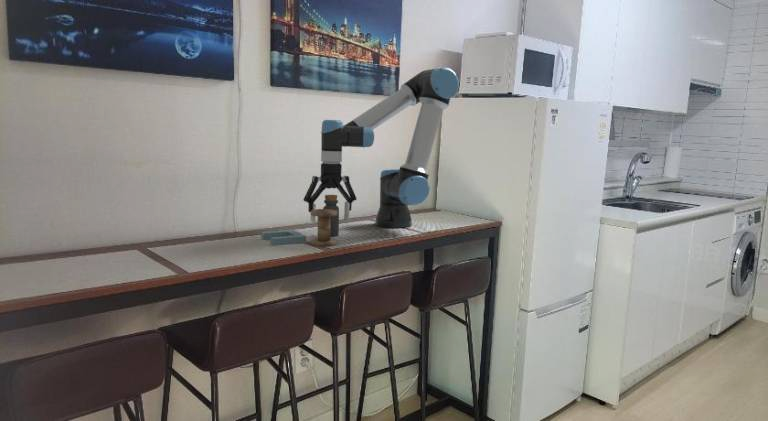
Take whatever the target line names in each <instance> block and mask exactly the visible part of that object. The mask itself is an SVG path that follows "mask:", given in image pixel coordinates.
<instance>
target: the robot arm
mask: <svg viewBox="0 0 768 421" xmlns="http://www.w3.org/2000/svg"><path fill="white" fill-rule="evenodd" d="M459 88H460V81H459V78H458V76H457V74H456V72H455V71H454V70H452V69H451V68H449V67H442V66H440V67H436V68H431V69H426V70H425V69H424V70H422V71H420V72H419V73H418V74H416V75H414V76H413V77H411V78H410V79H408V80H407V81H406V82H405V83H403V84H401V86H400V89H398V90H396V91H395V92H393V93H392V94H391V95H389V96H387V97H386V98H384V99H383V100H382V101H381V100H380V101H379V102H378V103H377V104H375V105H374V106H371V107H370V108H369V109H368V110H366V111H364V112H363V113H361V114H359V116H357V117H355V118H353V119H352V120H351V121H349V122H347V123H346V124H344V123H343V120H340V119H339V120H337V119H324V120H323V121H322V123H321V132H320V133H321V142H320V144H321V145H320V146H321V148H320V149H321V150H320V152H321V153H320V155H321V156H320V161H321V164H320V176H317V175H312V178H311V182H310V184H309V187H308V189H307V191H306V193H305V195H304V197H303V202H305V203H308V206H307V207H308V212H309V214H310V222H313V223H315V222H316V216H313V215H311V210H315V209H317V208H316V207H317V206H316V200H317V199H319V197H320V196H321V194H322V193H323V191H325V190H326V189H337V190H338V192H339V193H340V194H341V195H342V196H343V198H344V199H345V201H344V210H343V212H344V213H343V215H344V217H343V219H344V220H346V221H349V220H350V211H352V203H353V202H354V201H357V199H358V198H357V196H356V194H355V191H354V188H353V187H352V184H351V183H350V182H351V181H350V176H348V175H343V176H342V161H343V159H342V158H343V148H344V147H352V148H371V147H372V146H373V144H374V142H375V132H374V129H377V128H378V127H379V126H380V125H383V124H384V123H385V122H387V121H388V120H390V119H391V118H393V117H394V116H396V115H397V114H399V113H400V112H402V111H404V110H405V109H407V108H408V107H410V106H416V105H418V103H421V106H420V109H419V112H418V116H417V119H416V124H415V127H414V131H413V134H412V139H411V142H410V145H409V149H408V152H407V156H406V160H405V162H404V163H403V164H402V165H400V166H399V169H397V168H396V169H384V170H382V171H380V177H379V180H380V182H379V183H380V185H379V188H380V189H379V191H380V192H379V207H378V210H377V214H376V216H375V220H374V221H375V223H374V224H375V226H377V227H381V228H393V229H395V228H396V229H397V228H398V229H399V228H409V227H412V225H413V224H412V223H413V222H412V221H413V220H412V217H411V214H410V213H411V212H410V210H409V206H418V205H420V204H422V203H423V202H425V201H426V200H427V198H428V197H429V194H430V192H431V190H430V189H431V188H430V184H429V176H430V174H429V172H428V168H427V167H428V165H429V161H430V157H431V154H432V151H433V148H434V147H433V146H434V143H435V140H436V136H437V133H438V129H439V126H440V122H441V118H442V114H443V111H444V110H445V109H447V108H448V107H449V105H450V101H451V98H453V97H454V96H456V95H457V93H458V92H459V91H458V90H459ZM319 182H321V183H320V184H319V186H318V187H317V185H318V183H319ZM341 182H343V184H344V185H345V186H344V187H345V188H346V190H345V189H344V188H343V185H342V184H341ZM316 187H317V188H316Z"/></svg>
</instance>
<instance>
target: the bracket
mask: <svg viewBox="0 0 768 421" xmlns="http://www.w3.org/2000/svg"><path fill="white" fill-rule="evenodd" d="M260 236H261V237H260V238H261V240H262V241H270V242H269V243H270V245H271V246H272V247H275V246H276V247H277V246H278V247H279V246H287V245H296V244H297V245H298V244H307V243H308V242H307V238H308V236H307V235H305V234H303V233H301V232H299V231H297V230H295V229H286V230H283V229H282V230H272V231H261V233H260Z"/></svg>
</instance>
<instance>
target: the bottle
mask: <svg viewBox="0 0 768 421" xmlns="http://www.w3.org/2000/svg"><path fill="white" fill-rule="evenodd" d="M323 202H324V204H325V205H324V206H323V207H322V209H332V210H337V215H336V216H331V223H330V238H334V237H336V238H337V237H339V235H340V231H339V230H340V207H339V206H338V205H337V204H338V203H339V200H338V195H337V194H324V201H323Z"/></svg>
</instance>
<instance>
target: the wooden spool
mask: <svg viewBox="0 0 768 421" xmlns="http://www.w3.org/2000/svg"><path fill="white" fill-rule="evenodd" d="M311 215H313V216H315V217H317V237H315V238H314V237H313V238H311V239H310V245H311V246H315V247H333V246H336V245H337V244H338V239H337V238H334V237H330V223H331V216H336V215H337V210H332V209H323V208H318V209H317V208H316V209H315V210H311V213H310V216H311Z"/></svg>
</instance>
